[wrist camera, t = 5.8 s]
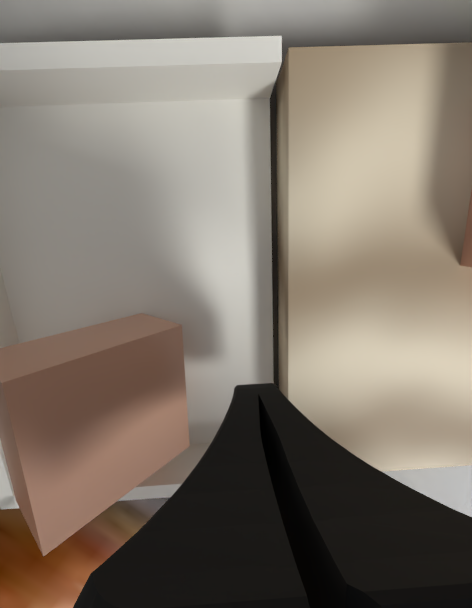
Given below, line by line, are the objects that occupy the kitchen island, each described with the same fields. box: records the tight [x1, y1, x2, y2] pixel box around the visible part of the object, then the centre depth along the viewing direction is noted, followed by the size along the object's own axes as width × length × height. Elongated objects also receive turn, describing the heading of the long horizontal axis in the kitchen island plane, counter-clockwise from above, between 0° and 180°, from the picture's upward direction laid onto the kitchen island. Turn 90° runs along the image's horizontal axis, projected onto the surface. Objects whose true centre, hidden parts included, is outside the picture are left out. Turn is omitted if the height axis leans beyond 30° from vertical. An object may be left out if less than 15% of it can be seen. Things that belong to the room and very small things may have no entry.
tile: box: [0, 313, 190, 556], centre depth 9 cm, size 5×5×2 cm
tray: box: [0, 36, 282, 509], centre depth 10 cm, size 15×11×2 cm
